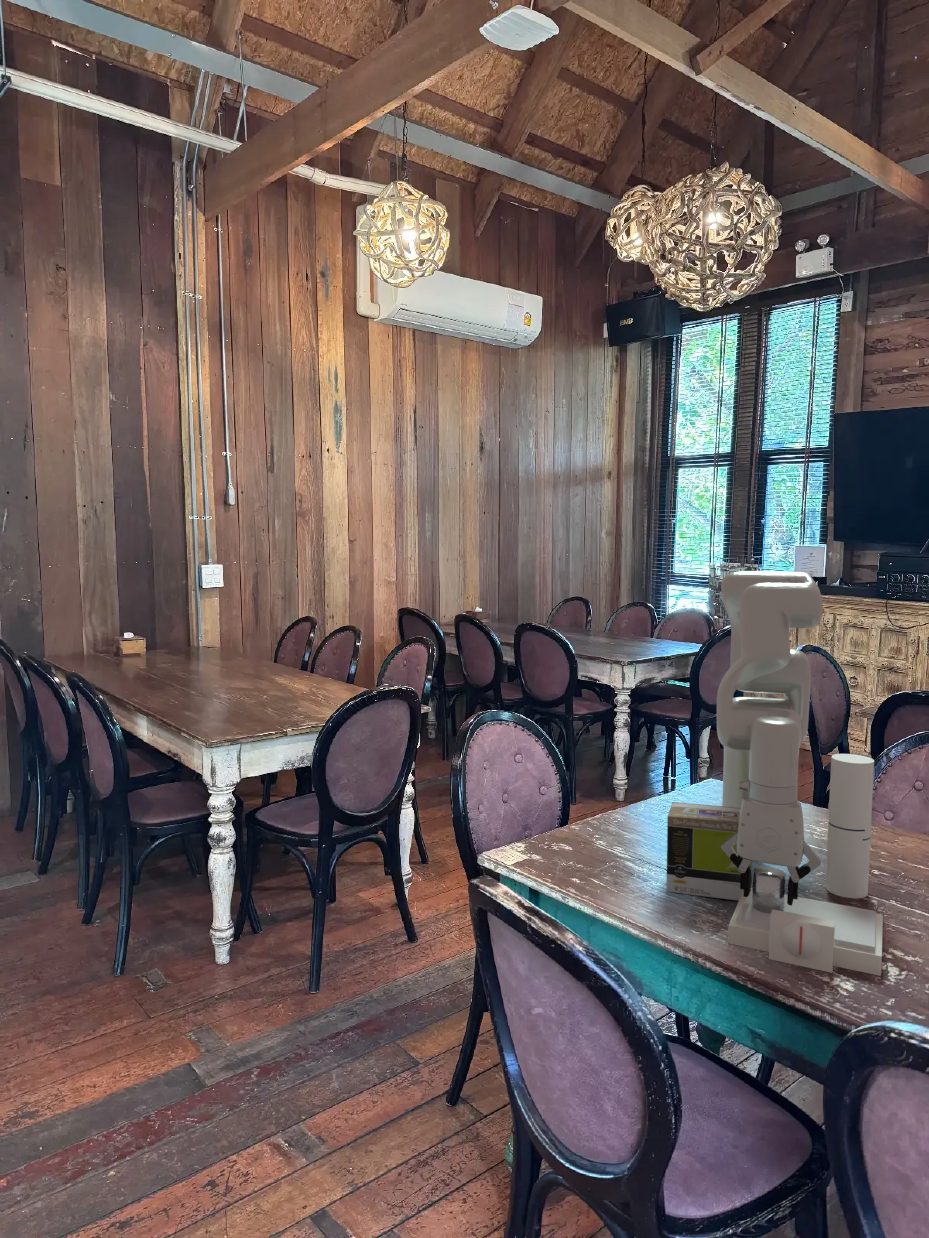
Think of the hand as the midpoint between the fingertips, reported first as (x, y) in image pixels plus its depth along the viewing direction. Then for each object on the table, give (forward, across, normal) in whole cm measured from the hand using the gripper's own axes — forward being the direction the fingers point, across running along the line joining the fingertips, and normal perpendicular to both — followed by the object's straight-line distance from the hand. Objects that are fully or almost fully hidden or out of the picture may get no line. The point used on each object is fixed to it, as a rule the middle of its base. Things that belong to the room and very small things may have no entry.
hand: (768, 897), depth 137 cm
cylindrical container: (+6, +11, +24) cm, 27 cm away
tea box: (+6, -12, +13) cm, 19 cm away
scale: (+6, +6, -2) cm, 8 cm away
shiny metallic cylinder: (+2, 0, 0) cm, 2 cm away
